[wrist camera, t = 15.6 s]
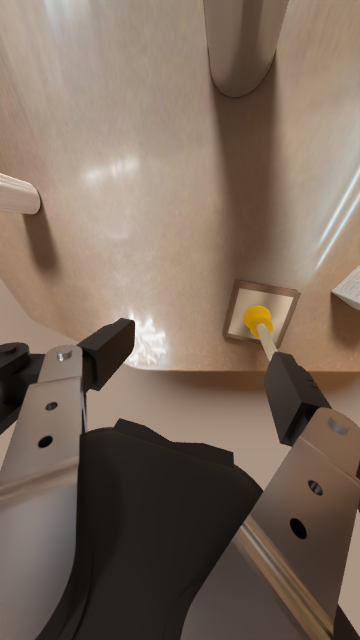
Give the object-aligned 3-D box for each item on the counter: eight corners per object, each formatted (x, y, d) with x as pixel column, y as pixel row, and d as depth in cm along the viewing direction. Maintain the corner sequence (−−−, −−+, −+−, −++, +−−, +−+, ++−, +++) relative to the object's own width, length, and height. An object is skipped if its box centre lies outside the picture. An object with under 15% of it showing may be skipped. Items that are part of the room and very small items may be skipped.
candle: (238, 321, 40) (245, 364, 26) (253, 300, 37) (270, 335, 23) (260, 333, 40) (279, 383, 26) (276, 313, 37) (307, 355, 23)
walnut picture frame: (222, 330, 45) (222, 336, 42) (234, 279, 40) (235, 282, 37) (275, 341, 43) (279, 348, 40) (295, 289, 38) (301, 293, 35)
